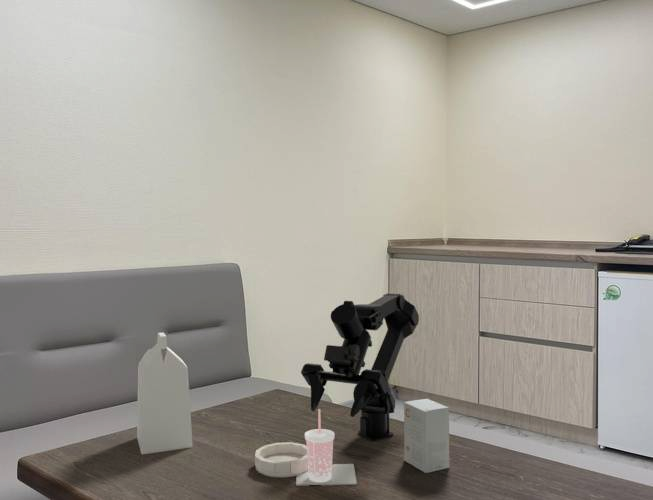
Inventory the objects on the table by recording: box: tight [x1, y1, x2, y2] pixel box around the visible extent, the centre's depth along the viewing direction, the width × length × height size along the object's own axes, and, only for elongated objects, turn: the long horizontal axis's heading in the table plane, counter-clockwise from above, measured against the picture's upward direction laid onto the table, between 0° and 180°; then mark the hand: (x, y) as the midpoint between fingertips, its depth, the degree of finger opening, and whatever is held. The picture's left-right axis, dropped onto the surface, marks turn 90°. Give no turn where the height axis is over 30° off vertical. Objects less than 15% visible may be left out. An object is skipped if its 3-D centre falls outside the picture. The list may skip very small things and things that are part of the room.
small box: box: [403, 398, 450, 474], centre depth 130 cm, size 8×6×13 cm
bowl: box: [254, 441, 308, 479], centre depth 130 cm, size 12×12×3 cm
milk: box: [136, 332, 193, 455], centre depth 145 cm, size 12×12×26 cm
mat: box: [295, 463, 358, 487], centre depth 125 cm, size 12×10×1 cm
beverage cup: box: [304, 408, 336, 482], centre depth 123 cm, size 6×6×14 cm
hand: (331, 413), depth 128 cm, fingers open, 9 cm apart
